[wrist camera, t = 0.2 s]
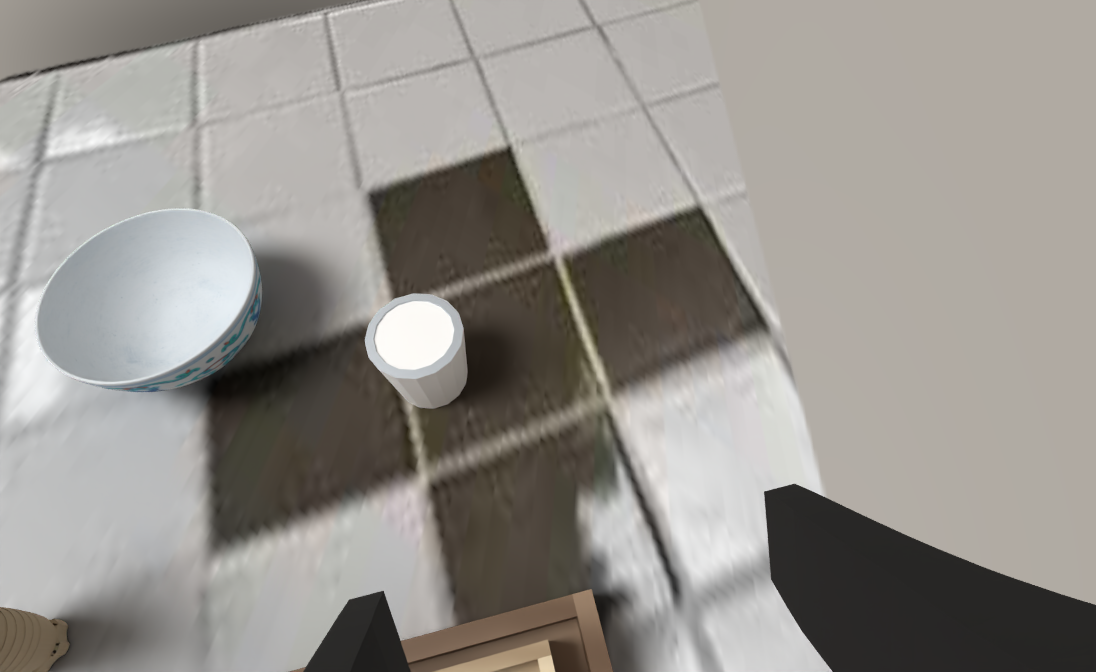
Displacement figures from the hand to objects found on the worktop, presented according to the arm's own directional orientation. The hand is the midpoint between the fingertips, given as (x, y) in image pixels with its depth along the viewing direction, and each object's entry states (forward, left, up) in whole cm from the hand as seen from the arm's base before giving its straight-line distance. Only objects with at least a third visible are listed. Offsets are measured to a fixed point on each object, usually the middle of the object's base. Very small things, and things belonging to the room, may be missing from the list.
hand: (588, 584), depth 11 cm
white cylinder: (+20, +6, -31) cm, 37 cm away
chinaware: (+28, +24, -31) cm, 48 cm away
